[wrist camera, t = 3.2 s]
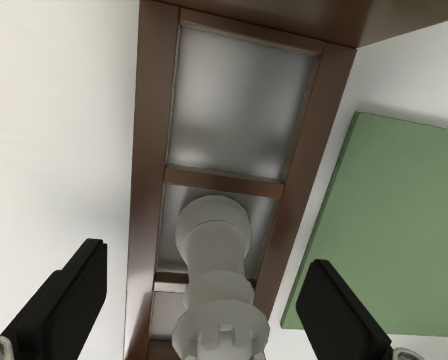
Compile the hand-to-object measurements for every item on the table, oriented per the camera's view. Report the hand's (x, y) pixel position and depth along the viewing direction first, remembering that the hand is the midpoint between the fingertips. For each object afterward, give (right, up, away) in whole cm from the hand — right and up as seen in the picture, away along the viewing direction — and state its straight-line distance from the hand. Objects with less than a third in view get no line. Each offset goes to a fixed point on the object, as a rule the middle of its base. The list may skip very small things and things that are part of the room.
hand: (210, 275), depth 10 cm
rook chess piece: (0, +2, +4) cm, 4 cm away
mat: (+14, 0, +6) cm, 15 cm away
